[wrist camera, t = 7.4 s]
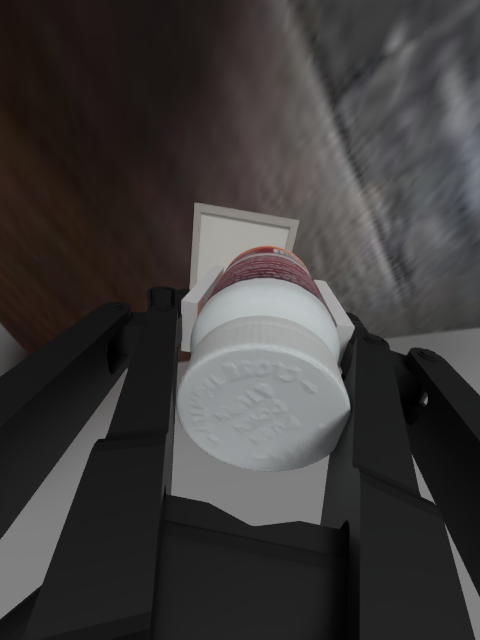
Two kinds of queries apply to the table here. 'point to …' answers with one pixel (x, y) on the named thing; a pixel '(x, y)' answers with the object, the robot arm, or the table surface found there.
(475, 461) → the robot arm
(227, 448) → the pill bottle
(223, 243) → the coaster
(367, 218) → the table surface
